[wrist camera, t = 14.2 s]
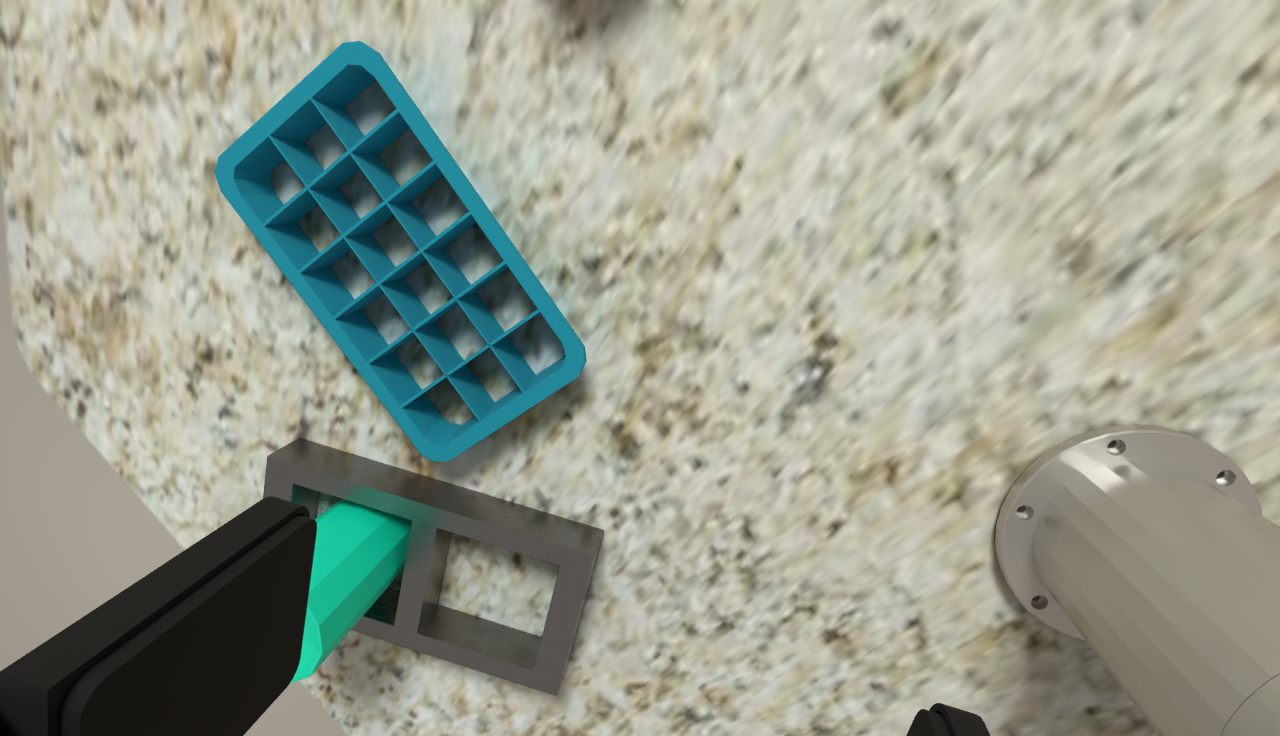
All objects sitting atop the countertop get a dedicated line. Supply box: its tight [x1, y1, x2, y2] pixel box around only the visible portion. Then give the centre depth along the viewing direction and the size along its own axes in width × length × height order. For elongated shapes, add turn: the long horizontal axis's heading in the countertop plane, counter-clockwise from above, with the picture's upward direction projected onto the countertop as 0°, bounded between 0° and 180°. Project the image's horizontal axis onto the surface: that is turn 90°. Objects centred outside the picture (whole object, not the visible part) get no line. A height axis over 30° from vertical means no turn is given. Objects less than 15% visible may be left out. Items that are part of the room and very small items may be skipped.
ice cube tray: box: [215, 41, 586, 461], centre depth 37 cm, size 12×20×3 cm, turn 35°
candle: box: [290, 499, 412, 683], centre depth 38 cm, size 6×6×12 cm
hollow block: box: [263, 438, 604, 696], centre depth 42 cm, size 20×10×3 cm, turn 76°
